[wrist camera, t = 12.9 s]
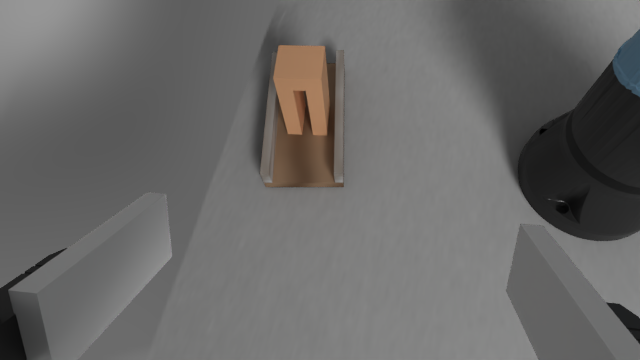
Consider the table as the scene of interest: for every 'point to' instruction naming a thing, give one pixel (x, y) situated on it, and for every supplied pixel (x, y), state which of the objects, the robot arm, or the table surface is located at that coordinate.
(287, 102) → the clip
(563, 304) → the robot arm
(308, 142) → the rail
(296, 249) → the table surface
